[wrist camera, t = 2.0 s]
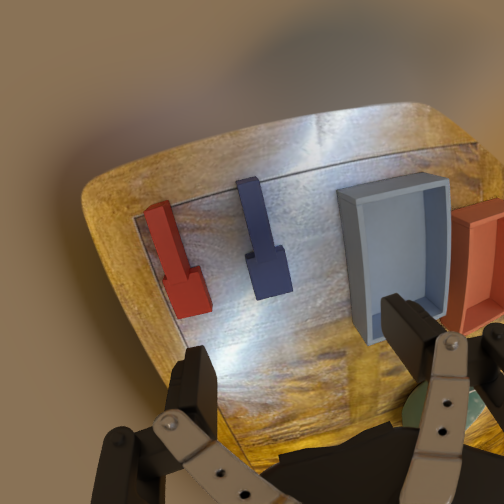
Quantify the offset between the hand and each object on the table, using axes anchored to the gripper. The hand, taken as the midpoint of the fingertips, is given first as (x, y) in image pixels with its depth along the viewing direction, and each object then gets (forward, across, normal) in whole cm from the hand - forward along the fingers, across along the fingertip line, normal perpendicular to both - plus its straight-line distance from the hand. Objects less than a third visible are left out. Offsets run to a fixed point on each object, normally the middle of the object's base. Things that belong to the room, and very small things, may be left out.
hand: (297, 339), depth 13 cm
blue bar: (+16, 0, 0) cm, 16 cm away
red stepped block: (+16, +8, 0) cm, 18 cm away
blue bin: (+16, -13, +5) cm, 22 cm away
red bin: (+16, -26, +10) cm, 32 cm away
